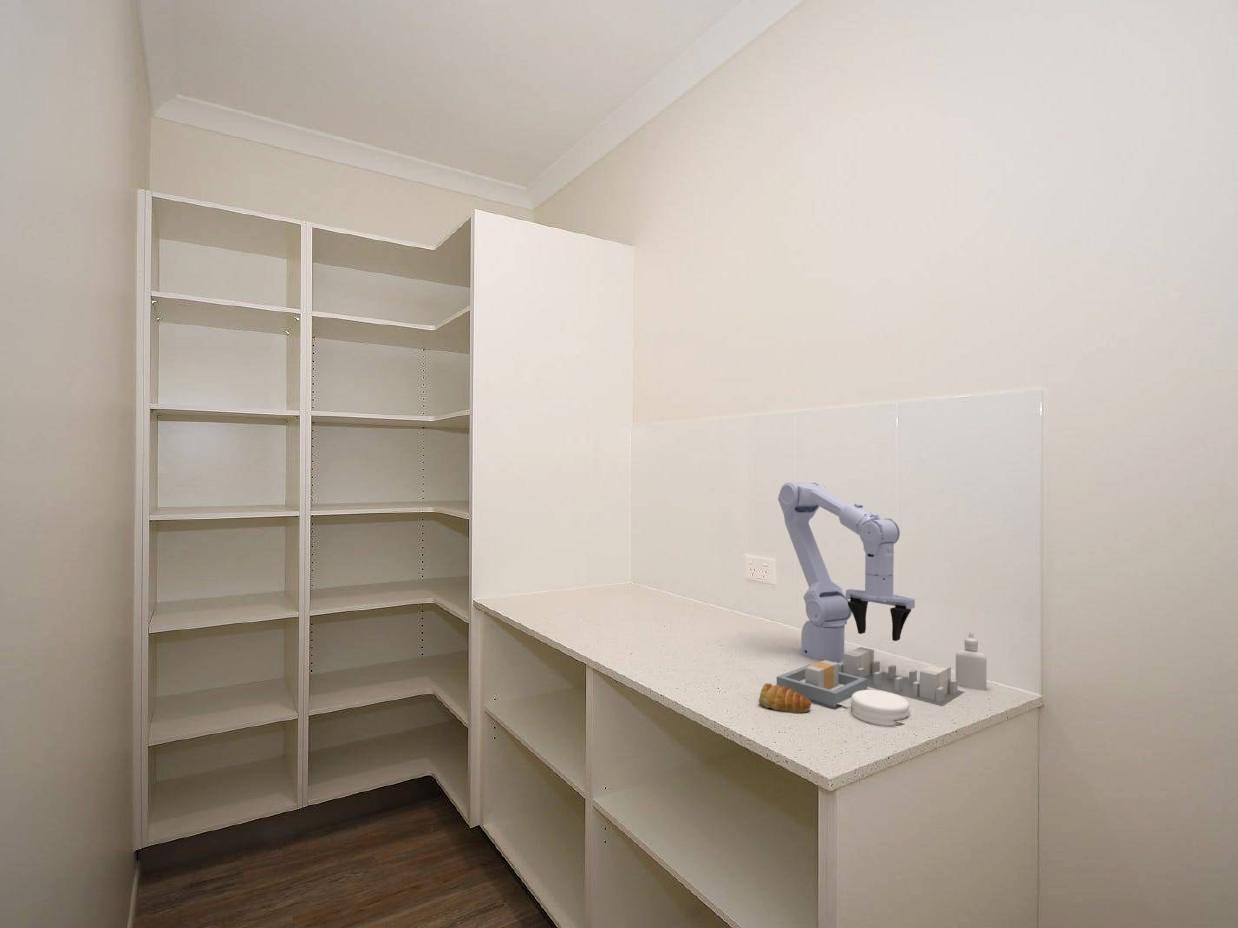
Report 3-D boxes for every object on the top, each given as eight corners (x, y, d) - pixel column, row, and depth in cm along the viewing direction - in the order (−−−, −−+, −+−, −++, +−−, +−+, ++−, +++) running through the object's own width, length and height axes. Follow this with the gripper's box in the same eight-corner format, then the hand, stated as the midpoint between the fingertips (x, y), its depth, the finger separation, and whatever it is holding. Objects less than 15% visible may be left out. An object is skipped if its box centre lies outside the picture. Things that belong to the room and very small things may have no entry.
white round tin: (875, 703, 125) (875, 685, 125) (921, 721, 116) (921, 702, 116) (839, 712, 120) (839, 693, 120) (884, 731, 111) (884, 711, 111)
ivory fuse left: (843, 676, 137) (843, 653, 137) (860, 669, 143) (860, 646, 143) (856, 680, 135) (856, 656, 135) (873, 672, 140) (873, 649, 140)
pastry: (814, 706, 122) (814, 687, 122) (805, 718, 117) (806, 697, 117) (766, 697, 127) (767, 678, 127) (756, 708, 121) (756, 688, 121)
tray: (776, 691, 130) (776, 676, 130) (809, 677, 139) (809, 664, 139) (835, 709, 121) (835, 693, 121) (867, 693, 130) (867, 678, 130)
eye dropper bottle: (964, 684, 136) (964, 628, 136) (990, 693, 131) (990, 634, 131) (951, 688, 134) (952, 630, 134) (977, 696, 129) (977, 637, 129)
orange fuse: (804, 692, 128) (805, 667, 128) (824, 683, 134) (825, 660, 134) (818, 696, 126) (818, 671, 126) (838, 687, 132) (838, 663, 132)
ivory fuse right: (919, 696, 125) (919, 671, 125) (935, 687, 131) (935, 663, 131) (935, 700, 123) (935, 674, 123) (950, 691, 129) (950, 666, 129)
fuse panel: (830, 681, 137) (830, 664, 137) (856, 669, 145) (856, 654, 145) (942, 711, 120) (942, 692, 120) (964, 696, 129) (964, 679, 129)
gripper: (839, 571, 141) (838, 632, 141) (905, 580, 131) (904, 646, 131) (854, 568, 146) (853, 627, 146) (918, 577, 136) (918, 640, 135)
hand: (878, 636), depth 139 cm, fingers open, 7 cm apart
